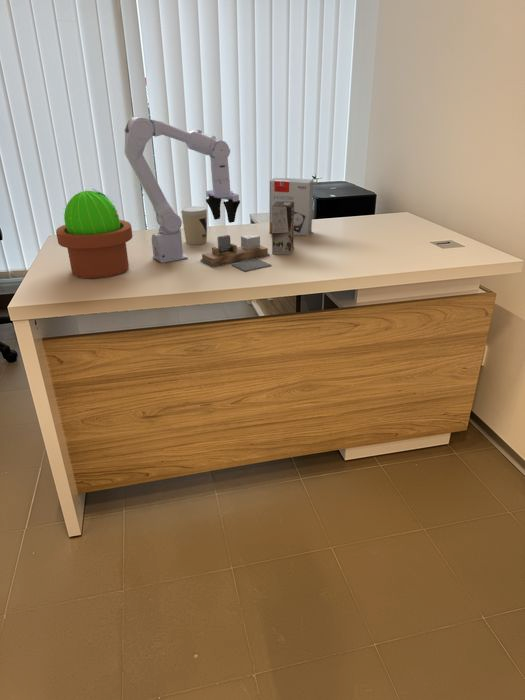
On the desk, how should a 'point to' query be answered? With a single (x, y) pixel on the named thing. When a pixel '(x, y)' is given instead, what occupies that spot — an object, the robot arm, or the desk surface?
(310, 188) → the hard drive box
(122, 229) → the potted cactus
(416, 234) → the desk surface
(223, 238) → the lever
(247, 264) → the mat
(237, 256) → the body
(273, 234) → the coffee box
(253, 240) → the brushed metal cube
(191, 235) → the coffee cup
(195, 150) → the robot arm
